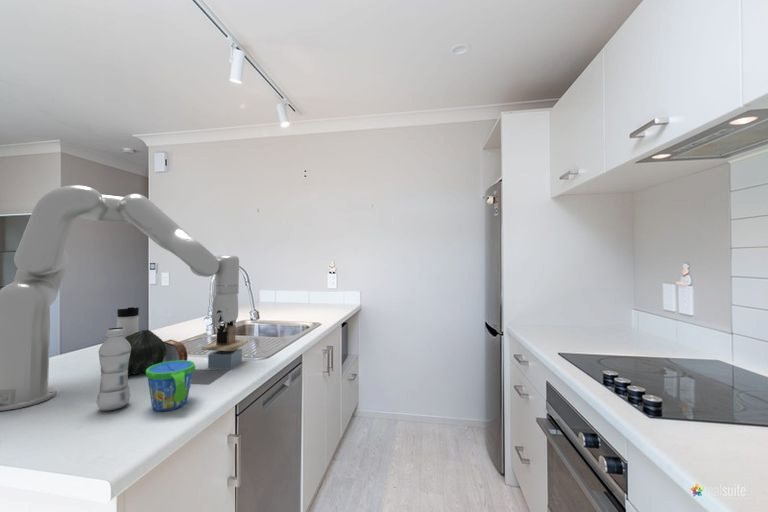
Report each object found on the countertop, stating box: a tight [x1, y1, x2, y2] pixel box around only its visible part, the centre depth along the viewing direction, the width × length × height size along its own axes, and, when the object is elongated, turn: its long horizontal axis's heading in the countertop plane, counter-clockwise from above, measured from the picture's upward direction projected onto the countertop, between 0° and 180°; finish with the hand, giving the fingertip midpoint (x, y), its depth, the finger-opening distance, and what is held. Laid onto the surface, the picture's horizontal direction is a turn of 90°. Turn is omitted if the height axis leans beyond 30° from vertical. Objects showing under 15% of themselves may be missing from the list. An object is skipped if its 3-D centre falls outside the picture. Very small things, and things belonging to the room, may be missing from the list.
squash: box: [125, 329, 166, 375], centre depth 107 cm, size 14×15×15 cm
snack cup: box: [145, 359, 196, 412], centre depth 83 cm, size 16×10×10 cm
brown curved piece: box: [163, 339, 188, 362], centre depth 115 cm, size 15×3×8 cm, turn 58°
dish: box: [207, 348, 243, 370], centre depth 115 cm, size 8×8×5 cm
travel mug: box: [116, 306, 140, 338], centre depth 119 cm, size 6×7×20 cm
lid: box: [201, 324, 249, 351], centre depth 115 cm, size 11×11×7 cm
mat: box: [190, 368, 231, 386], centre depth 103 cm, size 13×13×1 cm
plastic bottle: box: [96, 326, 131, 412], centre depth 81 cm, size 6×7×20 cm
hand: (225, 340), depth 115 cm, fingers closed on lid, 4 cm apart
